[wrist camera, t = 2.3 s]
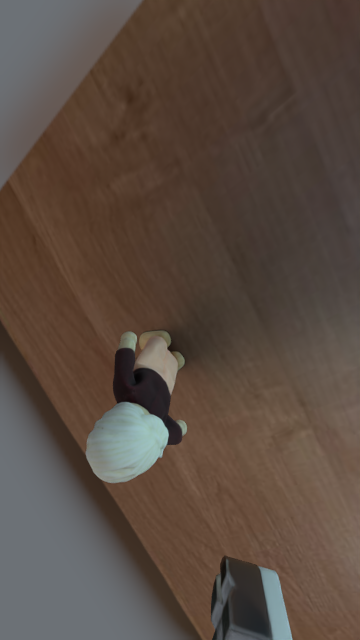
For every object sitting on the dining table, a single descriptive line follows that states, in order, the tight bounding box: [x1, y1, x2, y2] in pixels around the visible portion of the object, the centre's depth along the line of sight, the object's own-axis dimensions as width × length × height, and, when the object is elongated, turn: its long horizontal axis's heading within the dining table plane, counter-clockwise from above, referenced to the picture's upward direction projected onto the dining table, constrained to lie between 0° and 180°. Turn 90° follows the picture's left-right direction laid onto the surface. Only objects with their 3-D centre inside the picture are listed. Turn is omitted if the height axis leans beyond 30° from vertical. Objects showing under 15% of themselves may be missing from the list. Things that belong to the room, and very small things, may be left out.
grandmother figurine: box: [86, 330, 187, 483], centre depth 16 cm, size 8×4×13 cm, turn 41°
